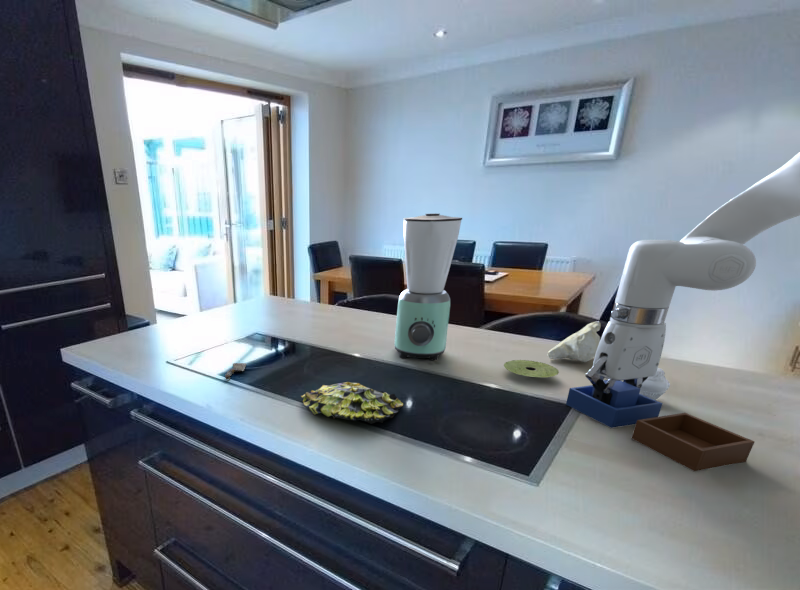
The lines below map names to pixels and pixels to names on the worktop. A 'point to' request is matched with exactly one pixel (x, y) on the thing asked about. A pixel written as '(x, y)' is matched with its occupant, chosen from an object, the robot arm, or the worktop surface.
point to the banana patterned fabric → (352, 402)
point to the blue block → (622, 394)
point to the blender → (426, 285)
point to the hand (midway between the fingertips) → (610, 407)
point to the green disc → (531, 368)
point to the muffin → (655, 385)
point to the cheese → (578, 344)
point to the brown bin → (692, 441)
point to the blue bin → (611, 408)
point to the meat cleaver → (235, 369)
